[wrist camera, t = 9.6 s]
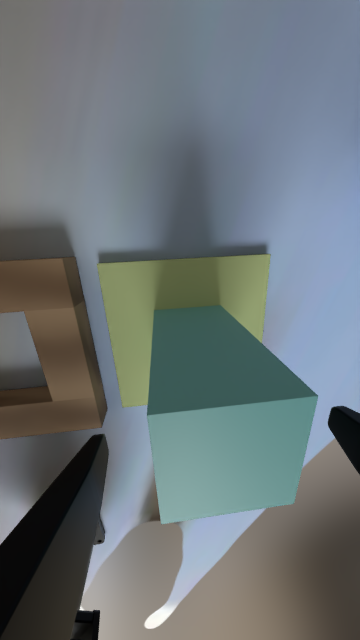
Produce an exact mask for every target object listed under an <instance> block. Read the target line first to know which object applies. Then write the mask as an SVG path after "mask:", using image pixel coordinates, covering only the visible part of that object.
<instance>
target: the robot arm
mask: <svg viewBox="0 0 360 640" xmlns="http://www.w3.org/2000/svg"><path fill="white" fill-rule="evenodd" d="M328 426H329V428H330V430H331V432H332V433H333V435H334V436H335V438H336V440H337V441H338V442H339V444H340V446H341V447H342V449H343V450H344V452H345V453H346V455H347V457H348V458H349V460H350V461H351V463H352V464H353V466H354V467H355V469H356V470H357V472H358V473H359V474H360V413H358V412H356V411H353V410H351V409H349V408H347V407H345V406H336V407H332V409H331V411H330V415H329V419H328ZM108 455H109V450H108V445H107V441H106V437H105V435H104V434H97V435H93V436H92V437H91V438H90V439H89V440H88V441H87V442H86V444H85V445H84V446H83V447H82V448H81V450H80V451H79V452H78V453H77V454H76V456H75V457H74V458H73V459H72V460H71V461H70V463H69V464H68V465H67V466H66V467H65V469H64V470H63V471H62V472H61V473H60V475H59V476H58V477H57V478H56V479H55V480H54V482H53V483H52V484H51V485H50V486H49V488H48V489H47V490H46V491H45V492H44V494H43V495H42V496H41V497H40V498H39V500H38V501H37V502H36V503H35V504H34V505H33V507H32V508H31V509H30V510H29V511H28V513H27V514H26V515H25V516H24V517H23V519H22V520H21V521H20V522H19V523H18V524H17V526H16V527H15V528H14V529H13V530H12V532H11V533H10V534H9V535H8V536H7V538H6V539H5V540H4V541H3V542H2V543H1V545H0V640H98V632H99V619H100V610H94V611H81V610H79V609H80V605H81V600H82V596H83V591H84V586H85V582H86V577H87V573H88V568H89V563H90V559H91V554H92V550H93V545H96V544H102V543H103V542H104V539H105V534H104V531H103V528H102V524H101V521H100V518H99V515H100V510H101V505H102V498H103V491H104V484H105V477H106V470H107V463H108Z"/></svg>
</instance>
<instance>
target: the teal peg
mask: <svg viewBox="0 0 360 640" xmlns="http://www.w3.org/2000/svg"><path fill="white" fill-rule="evenodd" d="M317 399H318V395H317V394H316V393H315V392H313V391H312V390H311V389H310V388H309V387H308V386H307V385H306V384H305V383H304V382H303V381H302V380H301V379H299V378H298V377H297V376H296V375H295V374H294V373H293V372H292V371H291V370H290V369H289V368H288V367H287V366H286V365H284V364H283V363H282V362H281V361H280V360H279V359H278V358H277V357H276V356H275V355H274V354H273V353H272V352H270V351H269V350H268V349H267V348H266V347H265V346H264V345H263V344H262V343H261V342H260V341H259V340H258V339H256V338H255V337H254V336H253V335H252V334H251V333H250V332H249V331H248V330H247V329H246V328H245V327H244V326H243V325H241V324H240V323H239V322H238V321H237V320H236V319H235V318H234V317H233V316H232V315H231V314H230V313H229V312H227V311H226V310H225V309H224V308H223V307H222V306H221V305H216V306H203V307H190V308H176V309H163V310H154V318H153V333H152V348H151V363H150V378H149V393H148V408H147V419H148V427H149V434H150V442H151V450H152V457H153V465H154V472H155V480H156V488H157V495H158V503H159V511H160V518H161V524H166V523H173V522H179V521H186V520H192V519H198V518H205V517H211V516H218V515H224V514H230V513H237V512H243V511H250V510H256V509H262V508H269V507H275V506H281V505H287V504H294V501H295V497H296V492H297V488H298V483H299V479H300V474H301V470H302V466H303V461H304V457H305V452H306V448H307V443H308V439H309V435H310V430H311V426H312V421H313V417H314V412H315V408H316V403H317Z"/></svg>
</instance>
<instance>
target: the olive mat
mask: <svg viewBox="0 0 360 640" xmlns="http://www.w3.org/2000/svg"><path fill="white" fill-rule="evenodd" d="M270 255H271V254H258V255H240V256H222V257H203V258H185V259H167V260H149V261H131V262H113V263H98V264H97V268H98V273H99V279H100V285H101V290H102V296H103V301H104V307H105V312H106V318H107V323H108V329H109V334H110V340H111V346H112V351H113V357H114V362H115V368H116V373H117V379H118V384H119V390H120V395H121V401H122V407H132V406H141V405H148V393H149V378H150V363H151V348H152V333H153V318H154V310H163V309H176V308H190V307H203V306H216V305H221V306H222V307H223V308H224V309H225V310H226V311H227V312H229V313H230V314H231V315H232V316H233V317H234V318H235V319H236V320H237V321H238V322H239V323H240V324H241V325H243V326H244V327H245V328H246V329H247V330H248V331H249V332H250V333H251V334H252V335H253V336H254V337H255V338H256V339H258V340H259V341H260V342H261V343H262V336H263V326H264V315H265V305H266V295H267V285H268V275H269V265H270Z"/></svg>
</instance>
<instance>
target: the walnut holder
mask: <svg viewBox="0 0 360 640" xmlns="http://www.w3.org/2000/svg"><path fill="white" fill-rule="evenodd" d="M20 311H24V313H25V316H26V320H27V323H28V326H29V329H30V332H31V335H32V338H33V341H34V344H35V347H36V351H37V354H38V357H39V360H40V363H41V366H42V369H43V372H44V375H45V378H46V381H47V385H48V386H44V387H34V388H24V389H14V390H4V391H0V439H7V438H16V437H24V436H33V435H42V434H50V433H59V432H67V431H76V430H84V429H93V428H102V425H103V422H104V419H105V415H106V412H107V404H106V399H105V395H104V390H103V385H102V381H101V376H100V371H99V367H98V362H97V357H96V352H95V348H94V343H93V338H92V334H91V329H90V324H89V320H88V315H87V310H86V305H85V301H84V296H83V291H82V287H81V282H80V277H79V273H78V268H77V263H76V258H75V257H63V258H44V259H25V260H6V261H0V313H6V312H20Z"/></svg>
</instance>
